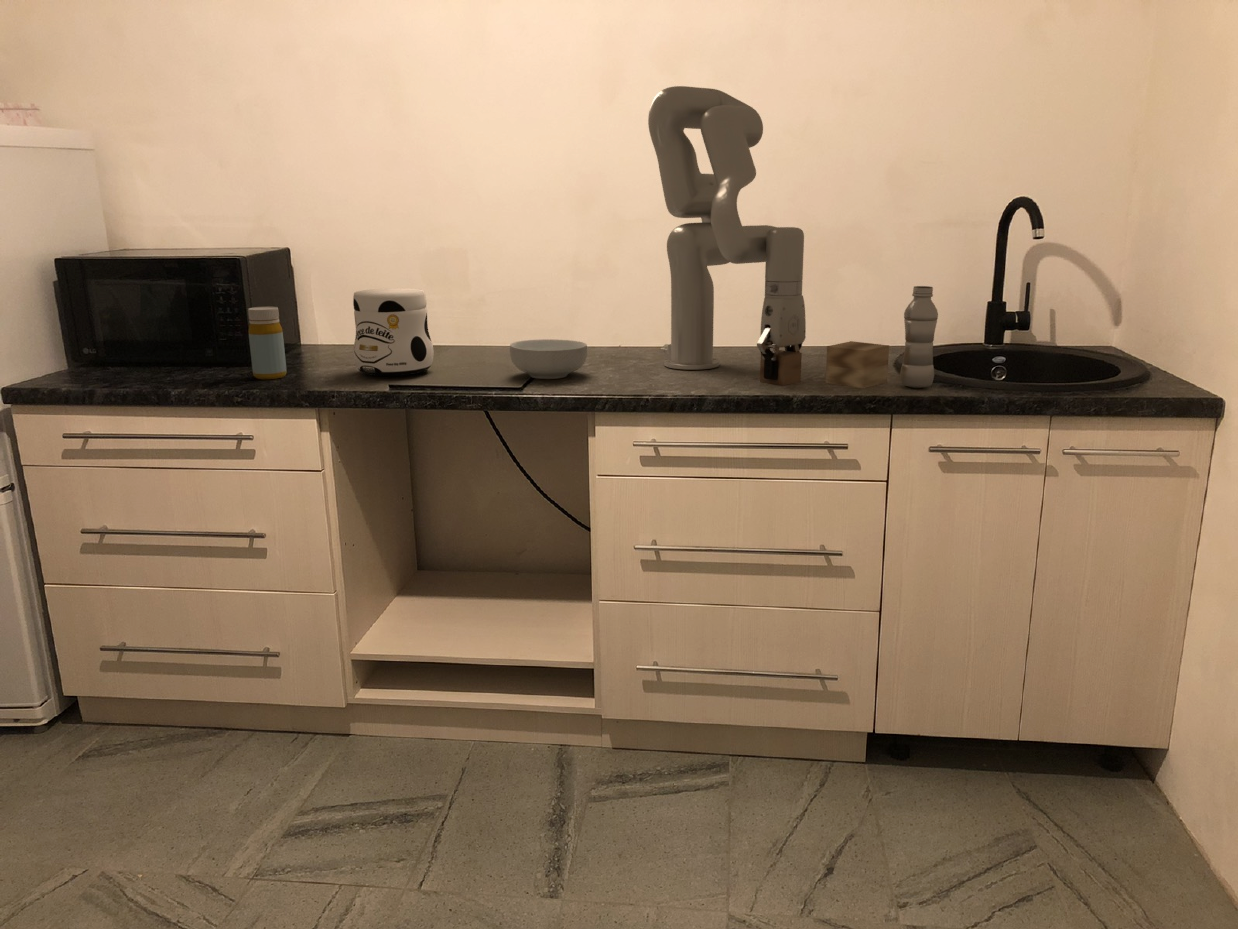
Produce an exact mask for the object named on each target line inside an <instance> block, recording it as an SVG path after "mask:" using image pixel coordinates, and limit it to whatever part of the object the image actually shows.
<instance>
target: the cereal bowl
mask: <svg viewBox="0 0 1238 929" xmlns="http://www.w3.org/2000/svg"><path fill="white" fill-rule="evenodd" d="M587 355H588V344H587V343H586V342H584V341H580V340H572V339H571V340H570V339H549V338H548V339H528V340H519V341H515V342H512V343H510V345H509V356H510V359H511V362H512V363H513V365H514V366H515V367H516V368H517V369H518V370H520V371H521V372H523V373H526V374H528V375H529V376H530V377H531V378H533V379H539V380H555V379H562V378H566V377H567V376H568V375H569V374H572V373H574V372H575V371H578V370H579V369H581V367H583V365H584V364H585V362H586V360H587Z"/></svg>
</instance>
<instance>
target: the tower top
mask: <svg viewBox="0 0 1238 929" xmlns="http://www.w3.org/2000/svg"><path fill="white" fill-rule="evenodd" d="M889 352H890V345H889V344H879V343H869V342H861V341H853V340H851V341H850V340H849V341H846V342H841V343H837V344H836V343H835V344H831V345H827V346H826V364H825V365H826V366H834V367H841V368H849V369H856V370H864V371H865V370H869V369H873V368H877V367H881V366H885V365H888V366H889V354H890V353H889ZM826 366H825V367H826Z"/></svg>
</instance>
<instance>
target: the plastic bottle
mask: <svg viewBox="0 0 1238 929" xmlns="http://www.w3.org/2000/svg"><path fill="white" fill-rule="evenodd" d="M933 290H934V288H933V286H928V285H917V286H913V290H912V295H911V296H912V297H913V299H912V300H911V302H910V303H909V304H908V305H907V306H906V308H905V310H904V314H903V318H904V330H905V331H904V333H905V335H904V339H905V342H904V354H903V360H902V365H901V367H900V373H899V375H900V376H899V378H900V382H901V383H902V385H903V386H905V387H908V388H909V387H910V388H912V389H921V388H928V387H931V385H932V384H933V382H934V377H935V368H934V367H935V366H934V353H933V352H934V351H933V350H934V347H933V346H934V339H935V332H936V328H937V323H938V317H939V312H938V309H937V307H936V305H935V303H934V302H933V300H932V298H933V296H934V294H933V293H934V292H933Z"/></svg>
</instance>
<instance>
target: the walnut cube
mask: <svg viewBox="0 0 1238 929" xmlns="http://www.w3.org/2000/svg"><path fill="white" fill-rule="evenodd" d="M771 352H772V353H773V350H771ZM802 355H803V354H802V352H800V353H799V352H791V351H785V350H782V349H779V351H778V355H777V359H776V360H777V361H778V379H777V380H771V379H765V378H764V360H763V358H762V357H763V355H762V354H761V353H760V368H759V370H760V372H759V382H760V383H765V384H772V385H778V386H787V385H790V384H791V385H792V384H795V383H800V382H801V381H802Z"/></svg>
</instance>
